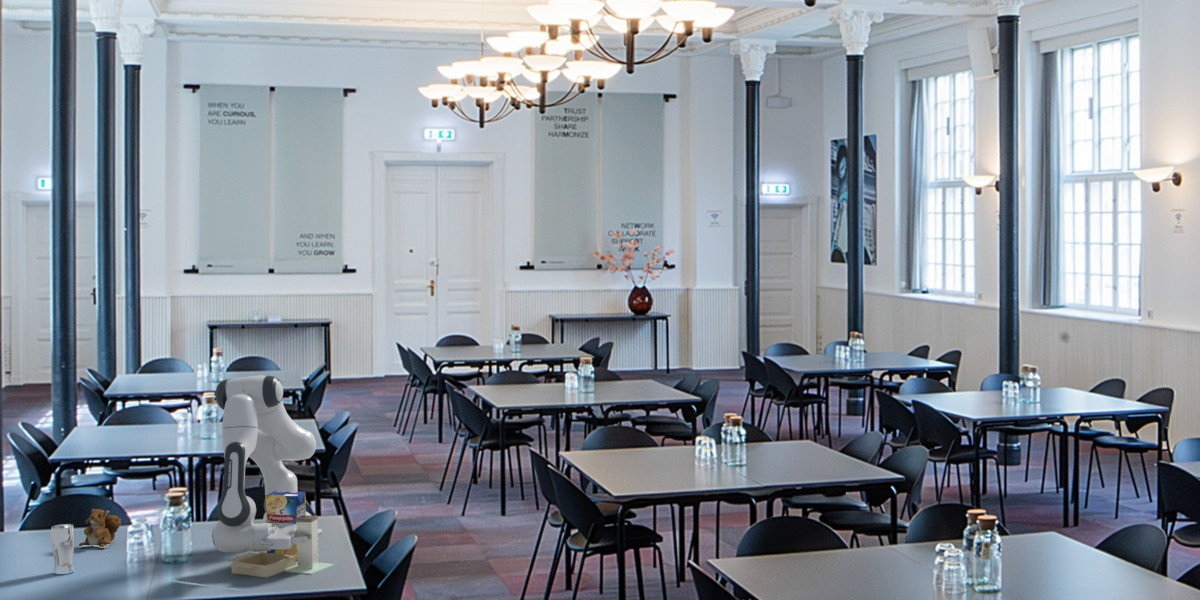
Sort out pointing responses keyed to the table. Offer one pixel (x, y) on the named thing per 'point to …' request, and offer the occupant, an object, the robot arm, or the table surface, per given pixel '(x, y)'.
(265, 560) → the beige square tray
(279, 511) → the beverage box
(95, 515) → the stuffed squirrel
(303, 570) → the pad
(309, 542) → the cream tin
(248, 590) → the table surface
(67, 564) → the beer glass
